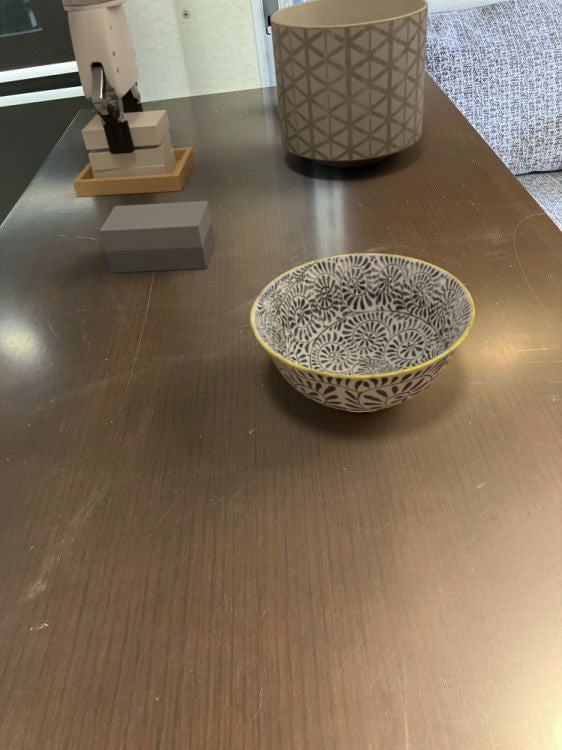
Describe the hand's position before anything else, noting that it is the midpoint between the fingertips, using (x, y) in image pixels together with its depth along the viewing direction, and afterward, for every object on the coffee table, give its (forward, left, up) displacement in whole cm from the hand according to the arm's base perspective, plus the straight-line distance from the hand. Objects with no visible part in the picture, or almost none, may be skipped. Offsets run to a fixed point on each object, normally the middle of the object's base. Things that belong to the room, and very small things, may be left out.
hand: (129, 141), depth 85 cm
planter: (+30, +3, -5) cm, 31 cm away
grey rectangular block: (+9, -24, -5) cm, 26 cm away
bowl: (+30, -46, -5) cm, 55 cm away
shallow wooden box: (0, 0, -5) cm, 5 cm away
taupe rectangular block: (0, 0, -5) cm, 5 cm away
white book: (0, 0, 0) cm, 0 cm away
